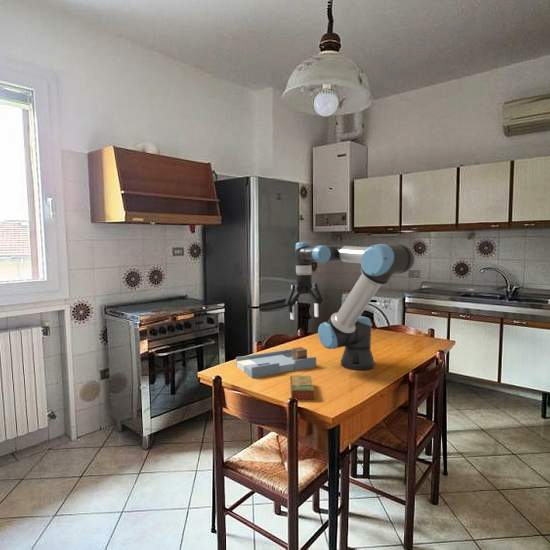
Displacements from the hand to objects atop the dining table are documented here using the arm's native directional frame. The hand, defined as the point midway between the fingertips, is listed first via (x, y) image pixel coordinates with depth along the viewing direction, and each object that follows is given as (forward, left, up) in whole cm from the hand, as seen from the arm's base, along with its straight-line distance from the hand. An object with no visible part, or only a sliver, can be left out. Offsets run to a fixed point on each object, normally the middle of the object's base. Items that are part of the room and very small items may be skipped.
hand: (304, 318), depth 193 cm
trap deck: (-4, +18, -20) cm, 27 cm away
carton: (-36, +24, -21) cm, 48 cm away
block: (-8, +8, -17) cm, 21 cm away
